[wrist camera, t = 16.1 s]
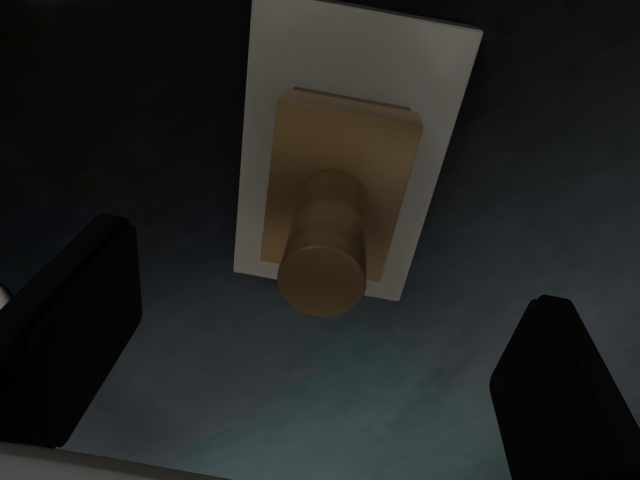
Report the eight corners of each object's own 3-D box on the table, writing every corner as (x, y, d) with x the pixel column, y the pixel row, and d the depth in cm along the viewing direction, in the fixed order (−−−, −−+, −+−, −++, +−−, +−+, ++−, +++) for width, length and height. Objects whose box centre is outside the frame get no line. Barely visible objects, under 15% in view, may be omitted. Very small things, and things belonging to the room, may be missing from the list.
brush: (289, 79, 17) (240, 156, 11) (417, 102, 17) (444, 194, 11) (271, 227, 21) (226, 353, 14) (379, 246, 21) (382, 382, 14)
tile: (259, -14, 17) (251, -12, 16) (477, 26, 17) (484, 31, 16) (238, 258, 23) (232, 272, 22) (398, 287, 23) (399, 302, 22)
